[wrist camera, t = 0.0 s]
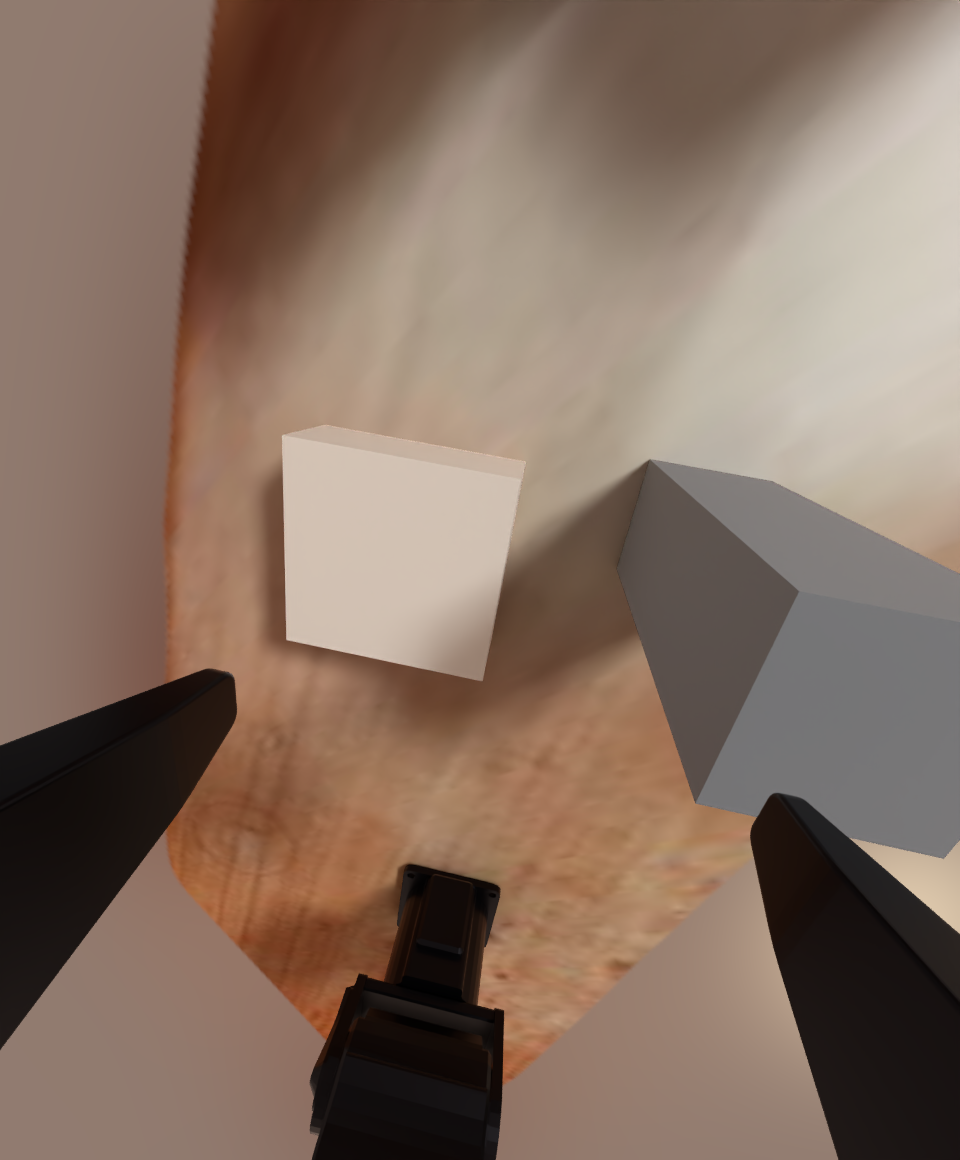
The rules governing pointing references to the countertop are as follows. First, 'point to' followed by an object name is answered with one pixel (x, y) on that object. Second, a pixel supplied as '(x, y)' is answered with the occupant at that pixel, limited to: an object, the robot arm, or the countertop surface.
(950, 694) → the grey column
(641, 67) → the countertop surface
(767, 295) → the countertop surface
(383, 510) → the cream slab
